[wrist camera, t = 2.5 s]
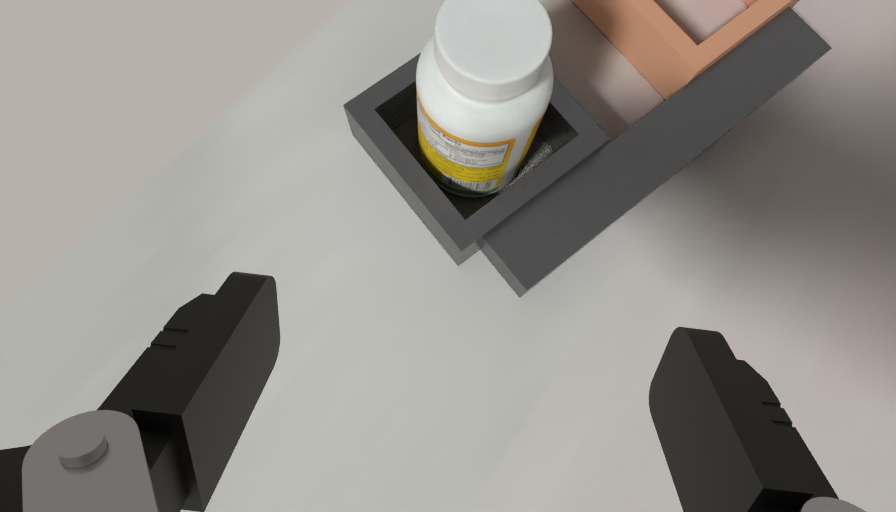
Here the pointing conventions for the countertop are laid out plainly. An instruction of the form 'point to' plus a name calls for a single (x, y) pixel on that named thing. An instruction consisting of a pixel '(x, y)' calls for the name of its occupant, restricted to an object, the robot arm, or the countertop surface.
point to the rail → (581, 154)
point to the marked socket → (672, 37)
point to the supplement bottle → (482, 92)
